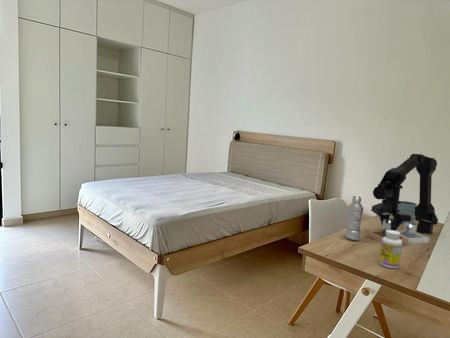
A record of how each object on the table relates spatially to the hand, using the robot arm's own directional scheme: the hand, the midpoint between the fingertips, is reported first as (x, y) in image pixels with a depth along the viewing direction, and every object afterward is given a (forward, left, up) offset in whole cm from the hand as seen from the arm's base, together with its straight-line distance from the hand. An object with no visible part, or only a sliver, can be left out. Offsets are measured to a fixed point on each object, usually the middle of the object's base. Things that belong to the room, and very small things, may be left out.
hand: (388, 231), depth 145 cm
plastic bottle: (+16, -3, -5) cm, 17 cm away
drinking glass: (-36, -29, -5) cm, 46 cm away
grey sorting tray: (-6, 0, -5) cm, 8 cm away
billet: (-12, 0, -4) cm, 12 cm away
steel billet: (0, 0, -2) cm, 2 cm away
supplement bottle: (+20, +25, -5) cm, 32 cm away
